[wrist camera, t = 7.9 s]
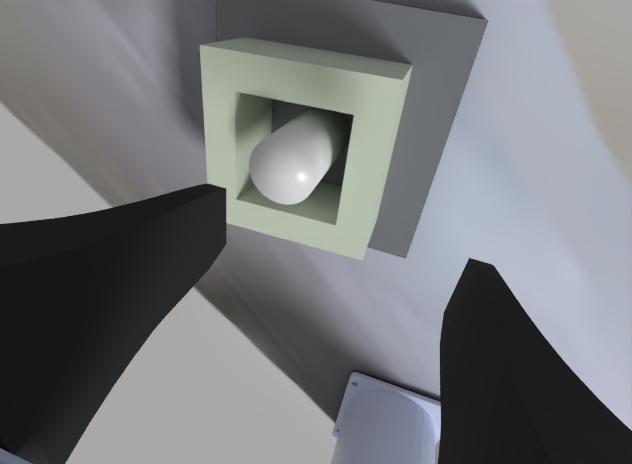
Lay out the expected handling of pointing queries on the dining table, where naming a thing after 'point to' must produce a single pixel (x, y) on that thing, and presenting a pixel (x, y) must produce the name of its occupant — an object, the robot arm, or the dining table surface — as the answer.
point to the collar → (311, 90)
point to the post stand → (335, 127)
